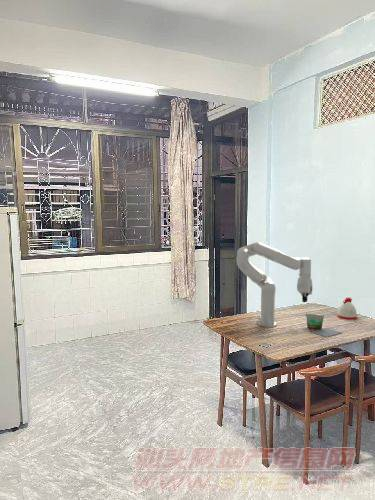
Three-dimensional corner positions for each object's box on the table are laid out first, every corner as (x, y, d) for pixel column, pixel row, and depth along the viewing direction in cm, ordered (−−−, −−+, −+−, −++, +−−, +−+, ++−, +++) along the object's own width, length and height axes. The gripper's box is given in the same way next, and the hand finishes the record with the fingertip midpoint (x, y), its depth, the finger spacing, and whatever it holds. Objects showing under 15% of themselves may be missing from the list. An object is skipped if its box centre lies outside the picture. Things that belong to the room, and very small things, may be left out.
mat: (310, 332, 242) (310, 331, 242) (326, 328, 251) (326, 327, 251) (326, 337, 232) (326, 336, 232) (341, 332, 241) (341, 332, 241)
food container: (304, 329, 248) (304, 314, 247) (305, 326, 254) (305, 312, 253) (323, 331, 244) (324, 316, 243) (323, 328, 250) (324, 314, 249)
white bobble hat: (361, 318, 274) (361, 298, 273) (347, 320, 269) (347, 300, 267) (346, 313, 287) (347, 294, 285) (332, 315, 282) (333, 296, 280)
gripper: (292, 275, 257) (292, 300, 259) (310, 277, 245) (310, 304, 247) (299, 273, 261) (299, 299, 263) (317, 276, 249) (317, 303, 251)
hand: (304, 301), depth 255 cm, fingers closed
